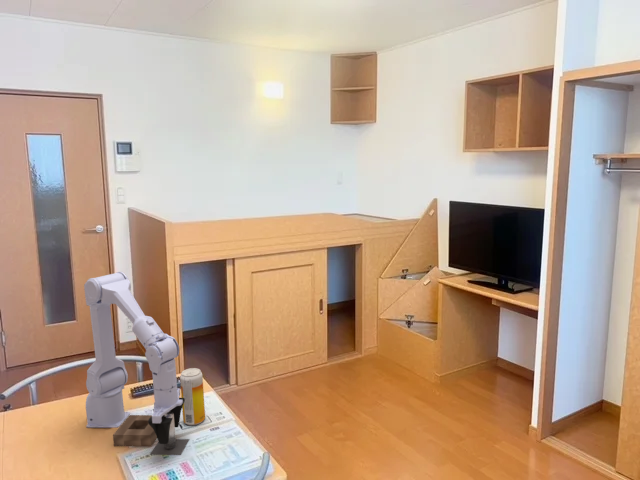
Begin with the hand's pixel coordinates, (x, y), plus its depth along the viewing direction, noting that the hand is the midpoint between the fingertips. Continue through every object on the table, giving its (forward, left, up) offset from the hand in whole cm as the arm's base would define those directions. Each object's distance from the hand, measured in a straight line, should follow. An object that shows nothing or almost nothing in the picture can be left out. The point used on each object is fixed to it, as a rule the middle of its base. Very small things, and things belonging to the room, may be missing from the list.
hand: (169, 434), depth 128 cm
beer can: (+2, +13, -4) cm, 14 cm away
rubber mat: (0, 0, -4) cm, 4 cm away
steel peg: (0, 0, -3) cm, 3 cm away
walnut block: (-10, +5, -4) cm, 12 cm away
